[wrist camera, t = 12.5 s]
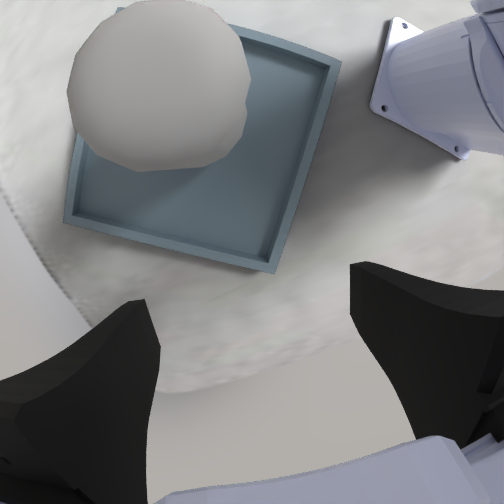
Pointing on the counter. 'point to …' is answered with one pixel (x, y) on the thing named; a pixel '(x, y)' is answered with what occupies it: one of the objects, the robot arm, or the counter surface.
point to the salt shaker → (160, 87)
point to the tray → (221, 169)
